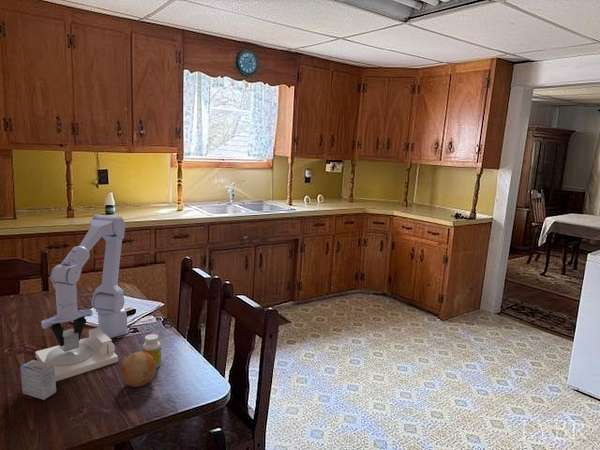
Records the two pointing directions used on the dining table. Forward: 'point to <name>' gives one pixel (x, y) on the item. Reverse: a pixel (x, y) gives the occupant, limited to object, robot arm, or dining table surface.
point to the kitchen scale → (80, 355)
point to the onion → (138, 369)
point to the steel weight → (70, 340)
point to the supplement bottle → (153, 348)
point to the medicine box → (38, 379)
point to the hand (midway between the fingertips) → (69, 342)
